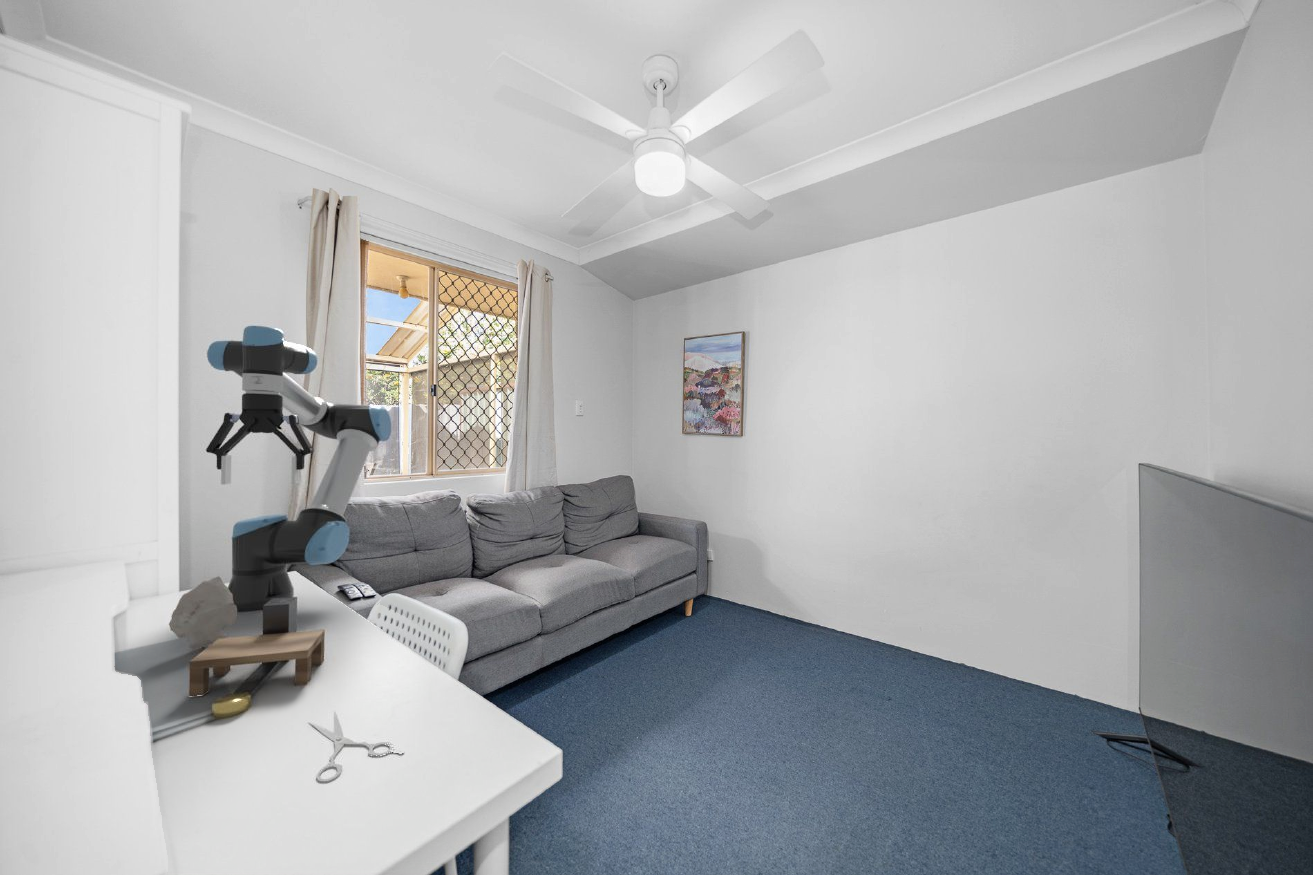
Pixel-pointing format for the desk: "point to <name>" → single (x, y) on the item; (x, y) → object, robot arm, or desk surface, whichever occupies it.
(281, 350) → the robot arm
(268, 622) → the dark grey l-shaped block
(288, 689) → the desk surface
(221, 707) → the disc
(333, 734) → the scissors
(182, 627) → the stone tool
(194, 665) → the stand
